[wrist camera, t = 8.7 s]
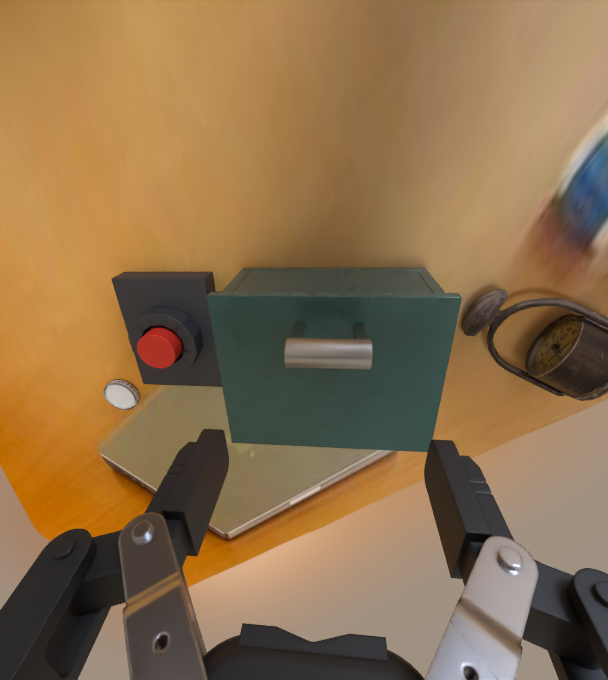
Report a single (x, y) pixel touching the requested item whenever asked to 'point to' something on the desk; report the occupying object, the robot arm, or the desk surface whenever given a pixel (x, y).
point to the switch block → (172, 322)
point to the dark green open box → (334, 280)
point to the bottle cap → (121, 394)
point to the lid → (333, 366)
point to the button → (159, 347)
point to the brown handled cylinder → (552, 345)
